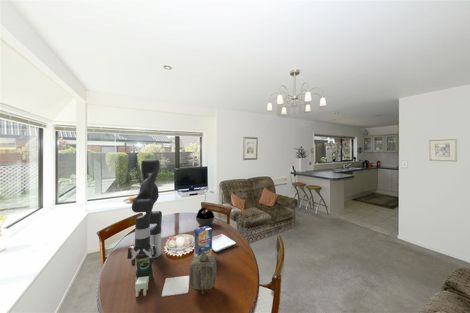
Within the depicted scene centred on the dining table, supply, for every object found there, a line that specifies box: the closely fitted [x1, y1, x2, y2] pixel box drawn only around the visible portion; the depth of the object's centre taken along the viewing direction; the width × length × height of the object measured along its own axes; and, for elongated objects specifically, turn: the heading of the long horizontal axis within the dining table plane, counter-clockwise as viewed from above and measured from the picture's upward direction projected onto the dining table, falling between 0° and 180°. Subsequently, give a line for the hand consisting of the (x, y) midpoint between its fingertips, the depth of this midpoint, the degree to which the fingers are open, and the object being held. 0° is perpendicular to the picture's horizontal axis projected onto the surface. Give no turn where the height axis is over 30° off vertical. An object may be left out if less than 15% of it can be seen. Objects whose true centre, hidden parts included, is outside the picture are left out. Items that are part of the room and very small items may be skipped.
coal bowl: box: [195, 207, 216, 227], centre depth 194 cm, size 20×20×19 cm
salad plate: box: [212, 233, 236, 253], centre depth 153 cm, size 21×21×3 cm
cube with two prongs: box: [134, 276, 150, 298], centre depth 99 cm, size 5×5×7 cm
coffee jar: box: [134, 248, 154, 283], centre depth 110 cm, size 10×8×19 cm
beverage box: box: [193, 225, 213, 258], centre depth 132 cm, size 7×11×22 cm, turn 129°
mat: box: [161, 275, 190, 298], centre depth 105 cm, size 14×14×1 cm
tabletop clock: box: [188, 247, 218, 295], centre depth 101 cm, size 14×9×25 cm, turn 92°
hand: (142, 264), depth 99 cm, fingers open, 8 cm apart
